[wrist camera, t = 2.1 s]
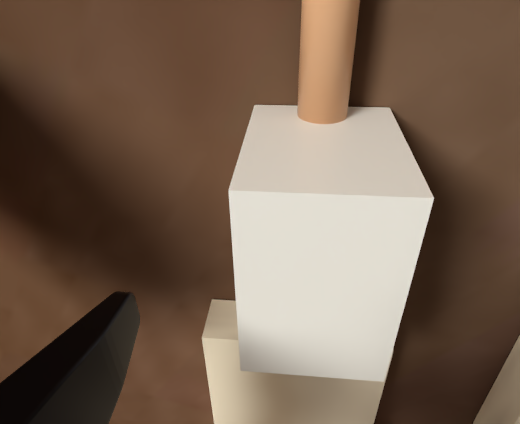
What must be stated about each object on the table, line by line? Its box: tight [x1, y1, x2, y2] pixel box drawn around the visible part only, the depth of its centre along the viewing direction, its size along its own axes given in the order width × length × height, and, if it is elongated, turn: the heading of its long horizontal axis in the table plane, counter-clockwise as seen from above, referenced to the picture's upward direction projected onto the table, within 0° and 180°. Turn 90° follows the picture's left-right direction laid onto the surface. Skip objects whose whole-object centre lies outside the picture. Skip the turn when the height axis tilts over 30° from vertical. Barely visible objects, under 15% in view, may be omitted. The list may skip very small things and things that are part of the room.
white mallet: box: [229, 0, 434, 382], centre depth 9 cm, size 4×15×5 cm, turn 1°
